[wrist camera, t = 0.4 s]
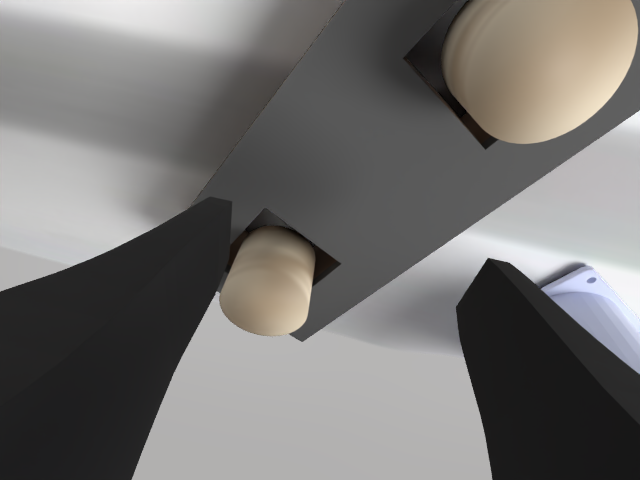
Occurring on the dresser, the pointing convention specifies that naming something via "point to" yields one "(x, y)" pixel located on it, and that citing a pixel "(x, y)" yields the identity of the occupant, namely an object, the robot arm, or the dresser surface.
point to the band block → (381, 156)
